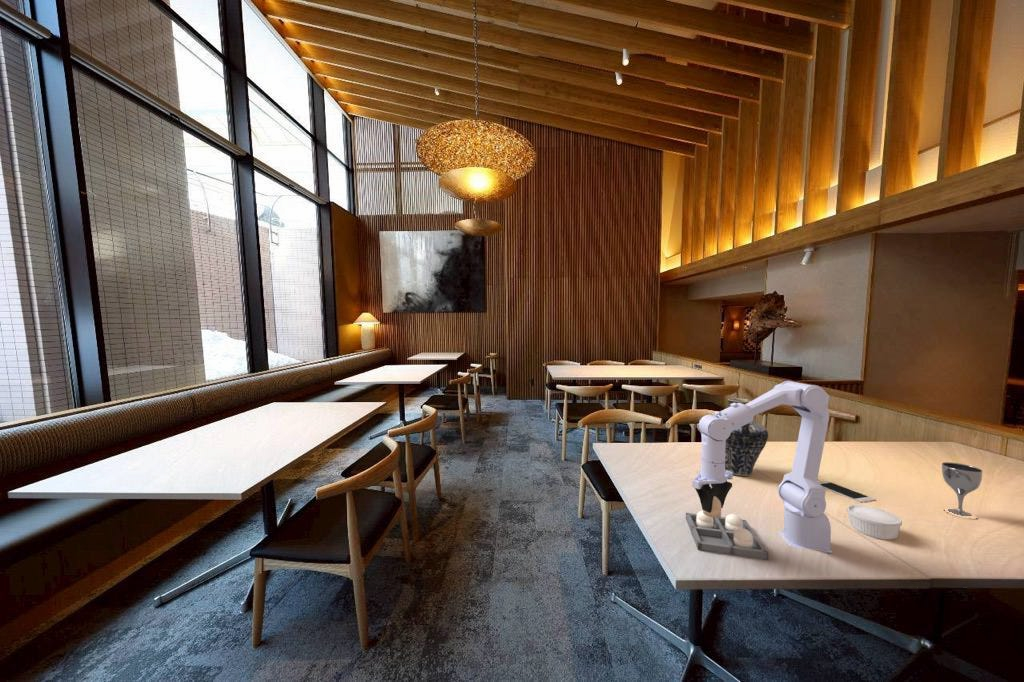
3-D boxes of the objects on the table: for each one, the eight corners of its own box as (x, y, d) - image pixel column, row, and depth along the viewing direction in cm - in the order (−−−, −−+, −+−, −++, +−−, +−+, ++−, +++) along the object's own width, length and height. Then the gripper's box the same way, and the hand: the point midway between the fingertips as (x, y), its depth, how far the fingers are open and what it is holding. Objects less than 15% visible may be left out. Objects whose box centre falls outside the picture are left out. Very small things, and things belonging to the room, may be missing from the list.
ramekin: (845, 517, 112) (845, 500, 112) (897, 529, 105) (897, 511, 105) (848, 533, 103) (848, 515, 103) (905, 547, 96) (905, 528, 96)
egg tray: (745, 528, 106) (745, 520, 106) (768, 562, 90) (768, 553, 90) (685, 520, 110) (685, 512, 110) (697, 551, 95) (697, 542, 95)
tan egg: (709, 508, 102) (710, 491, 101) (724, 515, 98) (725, 497, 97) (699, 511, 100) (699, 494, 99) (714, 519, 96) (714, 501, 96)
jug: (705, 461, 159) (705, 394, 158) (753, 464, 155) (754, 395, 154) (722, 480, 139) (723, 404, 138) (779, 485, 135) (780, 405, 134)
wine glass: (935, 510, 115) (937, 464, 115) (946, 505, 118) (948, 460, 118) (974, 522, 108) (976, 473, 108) (985, 517, 111) (987, 469, 111)
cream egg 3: (749, 543, 97) (749, 525, 97) (755, 553, 93) (756, 534, 93) (731, 541, 98) (731, 523, 98) (736, 550, 94) (736, 532, 94)
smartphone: (860, 504, 121) (860, 501, 121) (812, 484, 136) (812, 482, 136) (876, 501, 122) (876, 498, 122) (826, 482, 137) (826, 480, 137)
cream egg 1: (711, 525, 106) (711, 508, 106) (715, 533, 102) (715, 516, 102) (694, 523, 108) (694, 506, 107) (698, 530, 103) (698, 513, 103)
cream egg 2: (740, 528, 104) (740, 511, 104) (745, 537, 100) (745, 519, 100) (723, 526, 106) (723, 509, 105) (727, 534, 101) (727, 517, 101)
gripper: (716, 451, 105) (715, 497, 105) (682, 459, 98) (681, 508, 99) (740, 459, 99) (739, 507, 99) (706, 468, 92) (705, 520, 92)
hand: (712, 508), depth 98 cm, fingers closed on tan egg, 4 cm apart
